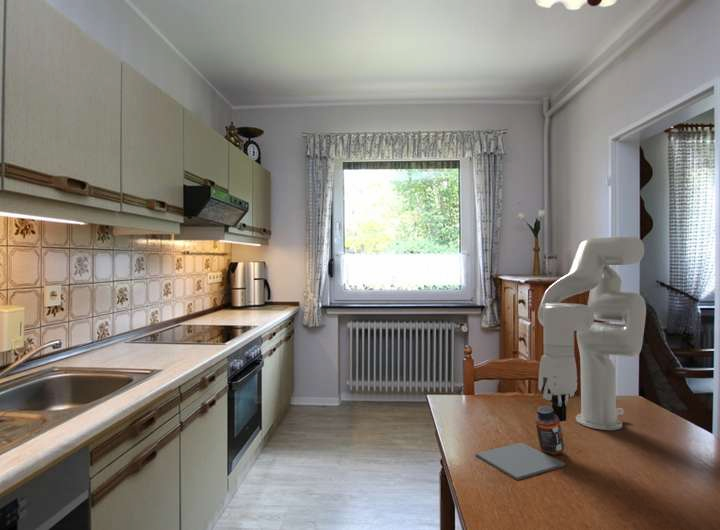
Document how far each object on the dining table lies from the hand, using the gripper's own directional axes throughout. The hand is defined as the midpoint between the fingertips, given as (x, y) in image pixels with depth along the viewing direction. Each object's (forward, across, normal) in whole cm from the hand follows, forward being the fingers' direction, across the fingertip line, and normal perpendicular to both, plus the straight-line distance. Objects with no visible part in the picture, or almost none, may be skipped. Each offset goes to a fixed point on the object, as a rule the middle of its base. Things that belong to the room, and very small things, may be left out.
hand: (559, 419), depth 111 cm
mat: (+8, +14, 0) cm, 17 cm away
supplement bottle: (+8, +2, 0) cm, 8 cm away
